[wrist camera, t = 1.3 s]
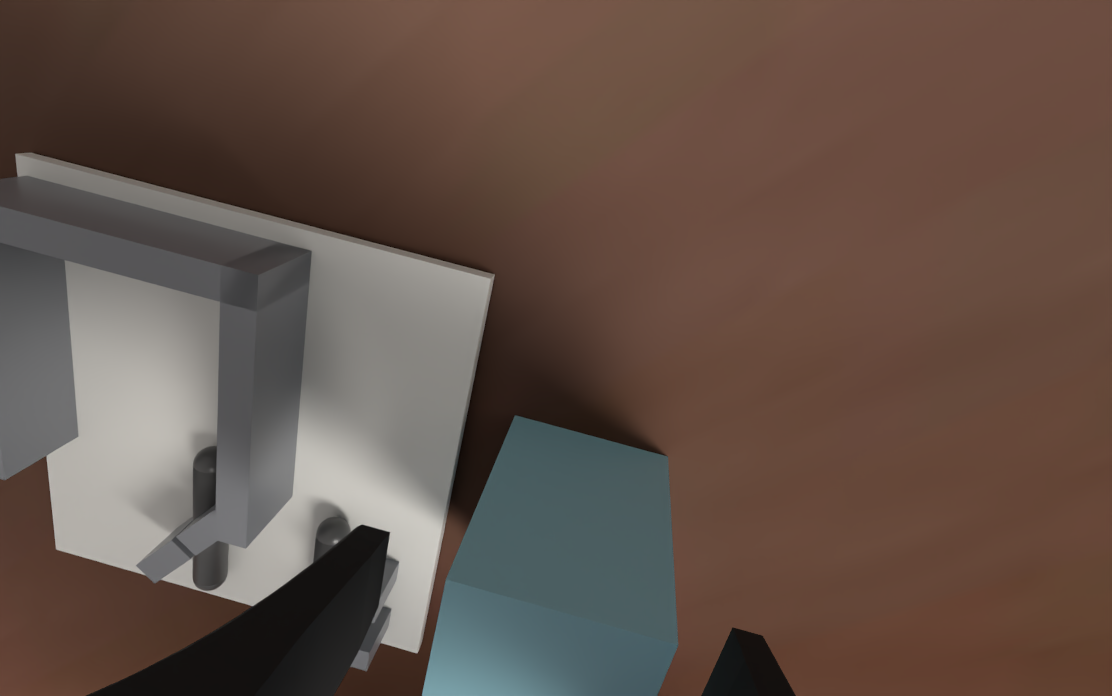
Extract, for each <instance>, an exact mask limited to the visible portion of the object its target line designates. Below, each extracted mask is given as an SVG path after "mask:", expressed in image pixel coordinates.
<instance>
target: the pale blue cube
mask: <svg viewBox="0 0 1112 696" xmlns="http://www.w3.org/2000/svg"><path fill="white" fill-rule="evenodd" d="M677 647H678V634H677V615H676V597H675V579H674V560H673V542H672V524H671V506H670V487H669V469H668V456H664V455H660V454H657V453H653V452H649V451H645V450H642V449H638V448H634V447H631V446H627V445H623V444H620V443H616V442H612V441H609V440H605V439H601V438H598V437H594V436H590V435H586V434H583V433H579V432H575V431H572V430H568V429H564V428H561V427H557V426H553V425H550V424H546V423H542V422H539V421H535V420H531V419H527V418H524V417H520V416H516V415H515V416H514V419H513V421H512V424H511V426H510V428H509V431H508V433H507V435H506V438H505V440H504V443H503V445H502V447H501V450H500V452H499V454H498V457H497V459H496V462H495V464H494V466H493V469H492V471H491V473H490V476H489V478H488V481H487V483H486V485H485V488H484V490H483V493H482V495H481V497H480V500H479V502H478V504H477V507H476V509H475V512H474V514H473V516H472V519H471V521H470V523H469V526H468V528H467V531H466V533H465V535H464V538H463V540H462V542H461V545H460V547H459V550H458V552H457V554H456V557H455V559H454V561H453V564H452V566H451V569H450V571H449V573H448V576H447V578H446V582H445V587H444V591H443V596H442V601H441V606H440V611H439V615H438V620H437V625H436V630H435V635H434V640H433V644H432V649H431V654H430V659H429V664H428V669H427V673H426V678H425V683H424V688H423V693H422V696H657V695H658V692H659V690H660V688H661V685H662V683H663V680H664V678H665V676H666V673H667V671H668V668H669V666H670V664H671V661H672V659H673V656H674V654H675V652H676V649H677Z"/></svg>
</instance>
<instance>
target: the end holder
mask: <svg viewBox="0 0 1112 696" xmlns="http://www.w3.org/2000/svg"><path fill="white" fill-rule="evenodd" d="M311 255H312V251H310V250H307V249H303V248H299V247H295V246H292V245H288V244H284V243H280V242H276V241H273V240H269V239H265V238H261V237H257V236H254V235H250V234H246V233H242V232H239V231H235V230H231V229H227V228H223V227H220V226H216V225H212V224H208V223H205V222H201V221H197V220H193V219H189V218H186V217H182V216H178V215H174V214H170V213H167V212H163V211H159V210H155V209H152V208H148V207H144V206H140V205H136V204H133V203H129V202H125V201H121V200H118V199H114V198H110V197H106V196H102V195H99V194H95V193H91V192H87V191H83V190H80V189H76V188H72V187H68V186H65V185H61V184H57V183H53V182H49V181H46V180H42V179H38V178H34V177H31V176H20V177H12V178H4V179H0V479H2V480H6V479H8V478H10V477H11V476H13V475H15V474H16V473H18V472H20V471H21V470H23V469H25V468H27V467H28V466H30V465H32V464H33V463H35V462H37V461H38V460H40V459H42V458H43V457H45V456H47V455H48V454H50V453H52V452H53V451H55V450H57V449H58V448H60V447H62V446H64V445H65V444H67V443H69V442H70V441H72V440H74V439H75V438H77V437H79V436H78V423H77V411H76V398H75V385H74V372H73V360H72V347H71V334H70V322H69V309H68V296H67V284H66V271H65V260H66V261H70V262H74V263H78V264H81V265H85V266H89V267H92V268H96V269H100V270H104V271H107V272H111V273H115V274H118V275H122V276H126V277H130V278H133V279H137V280H141V281H144V282H148V283H152V284H156V285H159V286H163V287H167V288H170V289H174V290H178V291H182V292H185V293H189V294H193V295H196V296H200V297H204V298H208V299H211V300H215V301H219V302H220V323H219V370H218V417H217V465H216V512H215V540H217V541H220V542H224V543H227V544H231V545H235V546H238V547H242V548H245V549H246V548H247V547H248V546H249V545H250V544H251V542H252V541H253V540H254V539H255V538H256V537H257V536H258V535H259V534H260V532H261V531H262V530H263V529H264V528H265V527H266V526H267V525H268V523H269V522H270V521H271V520H272V519H273V518H274V517H275V516H276V514H277V513H278V512H279V511H280V510H281V509H282V508H283V507H284V505H285V504H286V503H287V502H288V501H289V500H290V499H291V498H292V496H293V484H294V471H295V458H296V446H297V433H298V420H299V408H300V395H301V382H302V369H303V357H304V344H305V331H306V319H307V306H308V293H309V281H310V268H311Z"/></svg>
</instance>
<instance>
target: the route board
mask: <svg viewBox="0 0 1112 696" xmlns="http://www.w3.org/2000/svg"><path fill="white" fill-rule="evenodd" d="M15 156H16V166H17V176H18V177H20V176H31V177H34V178H38V179H42V180H46V181H49V182H53V183H57V184H61V185H65V186H68V187H72V188H76V189H80V190H83V191H87V192H91V193H95V194H99V195H102V196H106V197H110V198H114V199H118V200H121V201H125V202H129V203H133V204H136V205H140V206H144V207H148V208H152V209H155V210H159V211H163V212H167V213H170V214H174V215H178V216H182V217H186V218H189V219H193V220H197V221H201V222H205V223H208V224H212V225H216V226H220V227H223V228H227V229H231V230H235V231H239V232H242V233H246V234H250V235H254V236H257V237H261V238H265V239H269V240H273V241H276V242H280V243H284V244H288V245H292V246H295V247H299V248H303V249H307V250H310V251H312V255H311V268H310V281H309V293H308V306H307V319H306V331H305V344H304V357H303V369H302V382H301V395H300V408H299V420H298V433H297V446H296V458H295V471H294V484H293V496H292V498H291V499H290V500H289V501H288V502H287V503H286V504H285V505H284V507H283V508H282V509H281V510H280V511H279V512H278V513H277V514H276V516H275V517H274V518H273V519H272V520H271V521H270V522H269V523H268V525H267V526H266V527H265V528H264V529H263V530H262V531H261V532H260V534H259V535H258V536H257V537H256V538H255V539H254V540H253V541H252V542H251V544H250V545H249V546H248V547H247V548H246V549H245V548H242V547H238V546H235V545H231V544H227V543H224V542H220V541H217V540H215V512H216V465H217V417H218V370H219V323H220V302H219V301H215V300H211V299H208V298H204V297H200V296H196V295H193V294H189V293H185V292H182V291H178V290H174V289H170V288H167V287H163V286H159V285H156V284H152V283H148V282H144V281H141V280H137V279H133V278H130V277H126V276H122V275H118V274H115V273H111V272H107V271H104V270H100V269H96V268H92V267H89V266H85V265H81V264H78V263H74V262H70V261H66V260H65V271H66V284H67V296H68V309H69V322H70V334H71V347H72V360H73V372H74V385H75V398H76V411H77V423H78V436H79V437H77V438H75V439H74V440H72V441H70V442H69V443H67V444H65V445H64V446H62V447H60V448H58V449H57V450H55V451H53V452H52V453H50V454H48V455H47V466H48V476H49V485H50V495H51V505H52V514H53V524H54V534H55V543H56V550H60V551H63V552H67V553H70V554H74V555H77V556H80V557H84V558H87V559H91V560H94V561H98V562H101V563H105V564H108V565H112V566H115V567H119V568H122V569H126V570H129V571H133V572H136V573H140V574H143V575H146V576H147V577H148V578H149V579H150V580H152V581H153V582H154V583H156V582H158V581H159V580H164V581H167V582H171V583H174V584H178V585H181V586H185V587H188V588H192V589H195V590H199V591H202V592H206V593H209V594H212V595H216V596H219V597H223V598H226V599H230V600H233V601H237V602H240V603H244V604H247V605H251V606H254V605H255V604H257V603H258V602H260V601H261V600H263V599H264V598H266V597H267V596H269V595H270V594H272V593H273V592H274V591H276V590H277V589H279V588H280V587H281V586H283V585H284V584H285V583H287V582H288V581H289V580H291V579H292V578H293V577H295V576H296V575H298V574H299V573H300V572H302V571H303V570H304V569H306V568H307V567H308V566H310V565H311V564H312V563H313V562H315V561H316V560H317V559H318V558H320V557H321V556H322V555H323V554H325V553H326V552H327V551H328V550H330V549H331V548H332V547H333V546H335V545H336V544H337V543H338V542H339V541H341V540H342V539H343V538H344V537H345V536H346V535H348V534H349V533H350V532H351V531H352V530H353V529H355V528H356V527H358V526H360V525H362V524H363V525H366V526H370V527H373V528H377V529H381V530H384V531H388V532H390V536H389V543H388V549H387V556H386V562H385V569H384V575H383V582H382V588H381V595H380V601H379V607H378V609H377V611H376V613H375V616H374V618H373V620H372V623H371V625H370V627H369V629H368V632H367V634H366V636H365V638H364V640H363V643H362V645H361V647H360V649H359V651H358V654H357V655H356V657H355V659H354V661H353V662H352V664H351V666H350V667H354V668H357V669H361V670H364V671H367V670H368V667H369V665H370V663H371V661H372V659H373V657H374V655H375V653H376V651H377V649H378V647H379V645H380V643H383V644H386V645H390V646H393V647H397V648H400V649H403V650H407V651H410V652H414V653H418V651H419V649H420V646H421V644H422V640H423V635H424V630H425V625H426V620H427V614H428V609H429V604H430V599H431V594H432V589H433V584H434V579H435V574H436V569H437V564H438V559H439V554H440V549H441V544H442V539H443V534H444V529H445V524H446V519H447V514H448V508H449V503H450V498H451V493H452V488H453V483H454V478H455V473H456V468H457V463H458V458H459V453H460V448H461V443H462V438H463V433H464V428H465V423H466V418H467V413H468V408H469V402H470V397H471V392H472V387H473V382H474V377H475V372H476V367H477V362H478V357H479V352H480V347H481V342H482V337H483V332H484V327H485V322H486V317H487V312H488V307H489V302H490V296H491V291H492V286H493V281H494V276H495V274H491V273H487V272H484V271H480V270H476V269H472V268H468V267H465V266H461V265H457V264H453V263H449V262H446V261H442V260H438V259H434V258H430V257H427V256H423V255H419V254H415V253H411V252H408V251H404V250H400V249H396V248H392V247H389V246H385V245H381V244H377V243H373V242H369V241H366V240H362V239H358V238H354V237H350V236H347V235H343V234H339V233H335V232H331V231H328V230H324V229H320V228H316V227H312V226H309V225H305V224H301V223H297V222H293V221H290V220H286V219H282V218H278V217H274V216H271V215H267V214H263V213H259V212H255V211H252V210H248V209H244V208H240V207H236V206H232V205H229V204H225V203H221V202H217V201H213V200H210V199H206V198H202V197H198V196H194V195H191V194H187V193H183V192H179V191H175V190H172V189H168V188H164V187H160V186H156V185H153V184H149V183H145V182H141V181H137V180H134V179H130V178H126V177H122V176H118V175H115V174H111V173H107V172H103V171H99V170H96V169H92V168H88V167H84V166H80V165H76V164H73V163H69V162H65V161H61V160H57V159H54V158H50V157H46V156H42V155H38V154H35V153H31V152H30V153H18V154H15Z"/></svg>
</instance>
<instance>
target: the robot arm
mask: <svg viewBox="0 0 1112 696" xmlns="http://www.w3.org/2000/svg"><path fill="white" fill-rule="evenodd" d="M389 536H390V532H388V531H384V530H381V529H377V528H373V527H370V526H366V525H363V524H362V525H360V526H358V527H356V528H355V529H353V530H352V531H351V532H350V533H349V534H348V535H346V536H345V537H344V538H343V539H342V540H341V541H339V542H338V543H337V544H336V545H335V546H333V547H332V548H331V549H330V550H328V551H327V552H326V553H325V554H323V555H322V556H321V557H320V558H318V559H317V560H316V561H315V562H313V563H312V564H311V565H310V566H308V567H307V568H306V569H304V570H303V571H302V572H300V573H299V574H298V575H296V576H295V577H293V578H292V579H291V580H289V581H288V582H287V583H285V584H284V585H283V586H281V587H280V588H279V589H277V590H276V591H274V592H273V593H272V594H270V595H269V596H267V597H266V598H264V599H263V600H261V601H260V602H258V603H257V604H255V605H254V606H252V607H251V608H249V609H248V610H246V611H245V612H243V613H242V614H240V615H239V616H237V617H236V618H234V619H233V620H231V621H229V622H228V623H226V624H225V625H223V626H221V627H220V628H218V629H216V630H215V631H213V632H211V633H210V634H208V635H206V636H205V637H203V638H201V639H199V640H198V641H196V642H194V643H192V644H191V645H189V646H187V647H185V648H183V649H182V650H180V651H178V652H176V653H174V654H172V655H170V656H168V657H166V658H164V659H163V660H161V661H159V662H157V663H155V664H153V665H151V666H149V667H147V668H145V669H143V670H141V671H139V672H137V673H135V674H133V675H131V676H129V677H127V678H125V679H123V680H120V681H118V682H116V683H114V684H111V685H109V686H107V687H105V688H102V689H100V690H98V691H96V692H93V693H91V694H89V695H86V696H333V695H334V694H335V692H336V690H337V688H338V687H339V685H340V683H341V682H342V680H343V678H344V676H345V675H346V673H347V671H348V669H349V668H350V666H351V664H352V662H353V661H354V659H355V657H356V655H357V654H358V651H359V649H360V647H361V645H362V643H363V640H364V638H365V636H366V634H367V632H368V629H369V627H370V625H371V623H372V620H373V618H374V616H375V613H376V611H377V609H378V607H379V601H380V595H381V588H382V582H383V575H384V569H385V562H386V556H387V549H388V543H389ZM702 696H796V695H795V694H794V692H793V690H792V688H791V686H790V685H789V683H788V681H787V679H786V677H785V676H784V674H783V672H782V670H781V668H780V666H779V665H778V663H777V661H776V659H775V657H774V656H773V654H772V652H771V650H770V648H769V647H768V645H767V643H766V641H765V639H764V638H763V636H761V635H758V634H754V633H751V632H747V631H743V630H740V629H736V628H732V630H731V632H730V635H729V637H728V639H727V641H726V643H725V645H724V648H723V650H722V652H721V654H720V656H719V659H718V661H717V663H716V665H715V667H714V669H713V672H712V674H711V676H710V678H709V680H708V683H707V685H706V687H705V689H704V691H703V693H702Z"/></svg>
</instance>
